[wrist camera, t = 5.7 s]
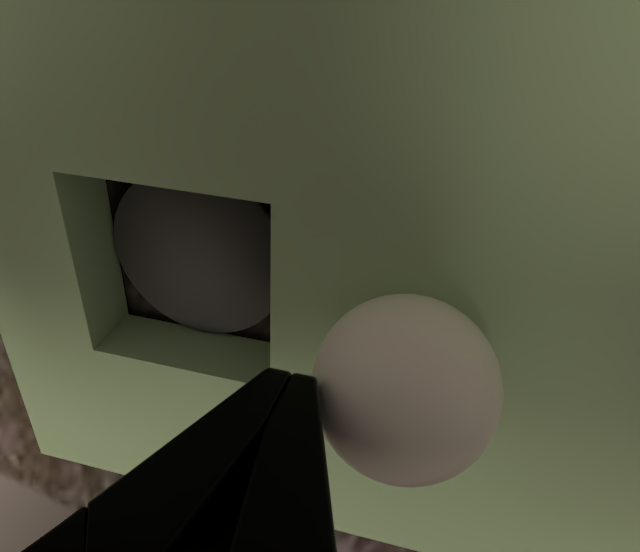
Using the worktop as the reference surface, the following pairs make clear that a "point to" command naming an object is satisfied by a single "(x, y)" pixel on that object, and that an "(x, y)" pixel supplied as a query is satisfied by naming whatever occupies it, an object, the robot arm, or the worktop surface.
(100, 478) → the worktop surface
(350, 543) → the worktop surface
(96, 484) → the worktop surface
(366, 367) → the ball
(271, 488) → the robot arm
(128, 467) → the board
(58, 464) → the worktop surface
